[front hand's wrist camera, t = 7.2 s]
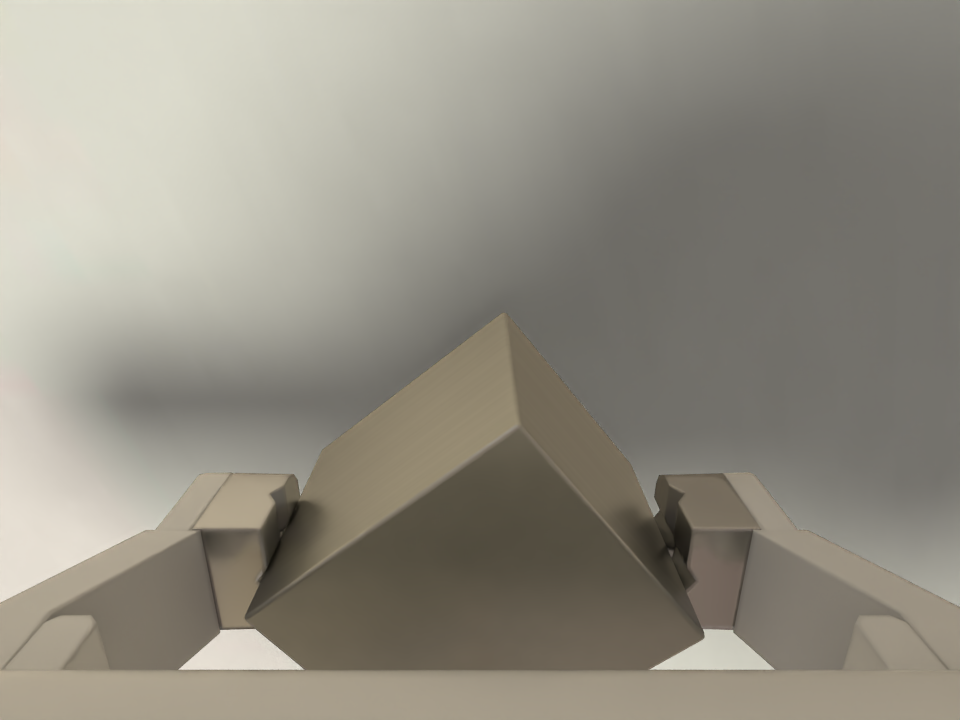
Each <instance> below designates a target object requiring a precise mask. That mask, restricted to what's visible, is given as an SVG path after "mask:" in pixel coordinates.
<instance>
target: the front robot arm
mask: <svg viewBox="0 0 960 720" xmlns="http://www.w3.org/2000/svg"><path fill="white" fill-rule="evenodd" d="M654 497H655V500H656V502H657V504H658V506H659V509H660V511H659V512H658V513H657V514H656V515H655V517H654V519H655V521H656V524H657V526H658V528H659V531H660V533H661V535H662V538H663V540H664V542H665V544H666V546H667V549H668V551H669V553H670V555H671V559H672V561H673V563H674V565H675V568H676V570H677V572H678V575H679V577H680V579H681V581H682V584H683V586H684V588H685V591H686V592H687V595H688V597H689V599H690V601H691V604H692V606H693V608H694V611H695V613H696V615H697V618H698V620H699V622H700V624H701V627H702V629H724V630H734V633H735V634H736V635H737V636H738V637H739V638H740V639H742V640H743V641H744V642H745V643H746V644H747V645H748V646H749V647H751V648H752V649H753V650H754V651H755V652H756V653H757V654H759V655H760V656H761V657H762V658H763V659H764V660H765V661H766V662H768V663H769V664H770V665H771V666H772V667H773V668H774V669H775V670H178V669H179V668H180V667H182V666H183V665H184V664H185V663H186V662H187V661H188V660H190V659H191V658H192V657H193V656H194V655H195V654H196V653H198V652H199V651H200V650H201V649H202V648H203V647H204V646H206V645H207V644H208V643H209V642H210V641H211V640H212V639H214V638H215V637H216V636H217V635H218V634H219V633H220V630H229V629H255V628H254V627H253V626H251V625H250V624H249V623H248V622H247V621H246V620H245V614H246V612H247V610H248V608H249V606H250V604H251V601H252V599H253V597H254V595H255V593H256V591H257V589H258V586H259V584H260V582H261V580H262V578H263V576H264V574H265V571H266V569H267V567H268V565H269V563H270V561H271V559H272V556H273V554H274V552H275V550H276V548H277V546H278V544H279V542H280V540H281V537H282V535H283V533H284V531H285V529H286V526H287V524H288V522H289V520H290V518H291V516H292V514H293V512H294V509H295V507H296V505H297V503H298V501H299V499H300V492H299V486H298V480H297V478H296V477H295V475H294V474H261V473H204V474H200V475H199V476H198V477H197V478H196V479H195V480H194V482H193V483H192V484H191V486H190V487H189V488H188V489H187V491H186V492H185V493H184V494H183V496H182V497H181V498H180V499H179V501H178V502H177V503H176V505H175V506H174V507H173V508H172V510H171V511H170V512H169V513H168V515H167V516H166V517H165V518H164V520H163V521H162V522H161V523H160V525H159V526H158V527H157V529H156V530H145V531H143V532H141V533H139V534H137V535H135V536H133V537H131V538H129V539H127V540H125V541H123V542H121V543H119V544H117V545H115V546H113V547H111V548H109V549H107V550H105V551H103V552H101V553H99V554H97V555H95V556H93V557H91V558H89V559H87V560H85V561H83V562H81V563H79V564H77V565H75V566H73V567H71V568H69V569H67V570H65V571H63V572H61V573H59V574H57V575H55V576H53V577H51V578H49V579H47V580H45V581H43V582H41V583H39V584H37V585H35V586H33V587H31V588H29V589H27V590H25V591H23V592H21V593H19V594H17V595H15V596H13V597H11V598H9V599H7V600H5V601H3V602H1V603H0V720H960V607H958V606H956V605H954V604H952V603H950V602H949V601H947V600H945V599H943V598H941V597H939V596H937V595H935V594H933V593H931V592H929V591H927V590H925V589H923V588H921V587H919V586H917V585H915V584H913V583H911V582H909V581H907V580H905V579H903V578H901V577H899V576H897V575H895V574H893V573H891V572H889V571H887V570H885V569H883V568H881V567H879V566H877V565H876V564H874V563H872V562H870V561H868V560H866V559H864V558H862V557H860V556H858V555H856V554H854V553H852V552H850V551H848V550H846V549H844V548H842V547H840V546H838V545H836V544H834V543H832V542H830V541H828V540H826V539H824V538H822V537H820V536H818V535H816V534H814V533H812V532H810V531H808V530H798V529H797V528H796V527H795V526H794V524H793V523H792V522H791V520H790V519H789V518H788V517H787V515H786V514H785V513H784V511H783V510H782V509H781V508H780V506H779V505H778V504H777V502H776V501H775V500H774V499H773V497H772V496H771V495H770V493H769V492H768V491H767V490H766V488H765V487H764V486H763V484H762V483H761V482H760V481H759V479H758V478H757V477H756V475H754V474H752V473H750V472H745V473H719V474H680V475H659V477H658V480H657V483H656V488H655V495H654Z"/></svg>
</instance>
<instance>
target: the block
mask: <svg viewBox="0 0 960 720" xmlns="http://www.w3.org/2000/svg"><path fill="white" fill-rule="evenodd" d="M245 620H246V621H247V622H248V623H249V624H250V625H251V626H253V627H254V628H255V629H256V630H257V631H259V632H260V633H261V634H262V635H264V636H265V637H266V638H267V639H268V640H270V641H271V642H272V643H273V644H274V645H276V646H277V647H278V648H279V649H280V650H282V651H283V652H284V653H285V654H287V655H288V656H289V657H290V658H291V659H293V660H294V661H295V662H296V663H297V664H299V665H300V666H301V667H302V668H304V669H305V670H649V669H651V668H653V667H655V666H656V665H658V664H660V663H662V662H664V661H665V660H667V659H669V658H671V657H672V656H674V655H676V654H678V653H680V652H681V651H683V650H685V649H687V648H689V647H690V646H692V645H694V644H696V643H698V642H699V641H701V640H703V639H704V631H703V629H702V627H701V624H700V622H699V620H698V618H697V615H696V613H695V611H694V608H693V606H692V604H691V601H690V599H689V597H688V595H687V592H686V591H685V588H684V586H683V584H682V581H681V579H680V577H679V575H678V572H677V570H676V568H675V565H674V563H673V561H672V559H671V555H670V553H669V551H668V549H667V546H666V544H665V542H664V540H663V538H662V535H661V533H660V531H659V528H658V526H657V524H656V521H655V519H654V516H653V514H652V512H651V509H650V507H649V505H648V503H647V500H646V498H645V496H644V493H643V491H642V489H641V486H640V484H639V482H638V480H637V477H636V475H635V473H634V470H633V468H632V466H631V464H630V463H629V461H628V460H627V459H626V458H625V457H624V455H623V454H622V453H621V452H620V451H619V449H618V448H617V447H616V446H615V444H614V443H613V442H612V441H611V440H610V438H609V437H608V436H607V435H606V434H605V432H604V431H603V430H602V429H601V427H600V426H599V425H598V424H597V423H596V421H595V420H594V419H593V418H592V416H591V415H590V414H589V413H588V412H587V410H586V409H585V408H584V407H583V406H582V404H581V403H580V402H579V401H578V399H577V398H576V397H575V396H574V395H573V393H572V392H571V391H570V390H569V388H568V387H567V386H566V385H565V384H564V382H563V381H562V380H561V379H560V378H559V376H558V375H557V374H556V373H555V371H554V370H553V369H552V368H551V367H550V365H549V364H548V363H547V362H546V360H545V359H544V358H543V357H542V356H541V354H540V353H539V352H538V351H537V350H536V348H535V347H534V346H533V345H532V343H531V342H530V341H529V340H528V339H527V337H526V336H525V335H524V334H523V332H522V331H521V330H520V329H519V328H518V326H517V325H516V324H515V323H514V322H513V320H512V319H511V318H510V317H509V315H508V314H507V313H505V312H504V313H501V314H500V315H499V316H497V317H496V318H495V319H494V320H492V321H491V322H490V323H488V324H487V325H486V326H484V327H483V328H482V329H480V330H479V331H478V332H476V333H475V334H474V335H473V336H471V337H470V338H469V339H467V340H466V341H465V342H463V343H462V344H461V345H459V346H458V347H457V348H455V349H454V350H453V351H452V352H450V353H449V354H448V355H446V356H445V357H444V358H442V359H441V360H440V361H438V362H437V363H436V364H434V365H433V366H432V367H431V368H429V369H428V370H427V371H425V372H424V373H423V374H421V375H420V376H419V377H417V378H416V379H415V380H413V381H412V382H411V383H409V384H408V385H407V386H406V387H404V388H403V389H402V390H400V391H399V392H398V393H396V394H395V395H394V396H392V397H391V398H390V399H388V400H387V401H386V402H385V403H383V404H382V405H381V406H379V407H378V408H377V409H375V410H374V411H373V412H371V413H370V414H369V415H367V416H366V417H365V418H364V419H362V420H361V421H360V422H358V423H357V424H356V425H354V426H353V427H352V428H350V429H349V430H348V431H346V432H345V433H344V434H343V435H341V436H340V437H339V438H337V439H336V440H335V441H333V442H332V443H331V444H329V445H328V446H327V447H325V448H324V449H323V450H322V451H321V454H320V456H319V458H318V460H317V462H316V464H315V466H314V469H313V471H312V473H311V475H310V477H309V479H308V481H307V484H306V486H305V488H304V490H303V492H302V494H301V496H300V499H299V501H298V503H297V505H296V507H295V509H294V512H293V514H292V516H291V518H290V520H289V522H288V524H287V526H286V529H285V531H284V533H283V535H282V537H281V540H280V542H279V544H278V546H277V548H276V550H275V552H274V554H273V556H272V559H271V561H270V563H269V565H268V567H267V569H266V571H265V574H264V576H263V578H262V580H261V582H260V584H259V586H258V589H257V591H256V593H255V595H254V597H253V599H252V601H251V604H250V606H249V608H248V610H247V612H246V614H245Z"/></svg>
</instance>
